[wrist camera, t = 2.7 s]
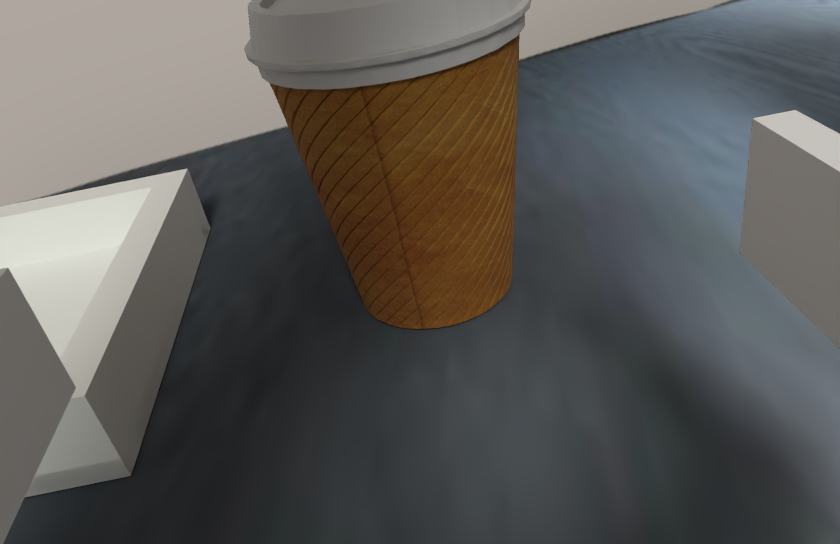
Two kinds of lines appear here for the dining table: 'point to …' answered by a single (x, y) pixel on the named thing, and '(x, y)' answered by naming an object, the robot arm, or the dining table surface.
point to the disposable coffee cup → (405, 141)
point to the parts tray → (106, 308)
